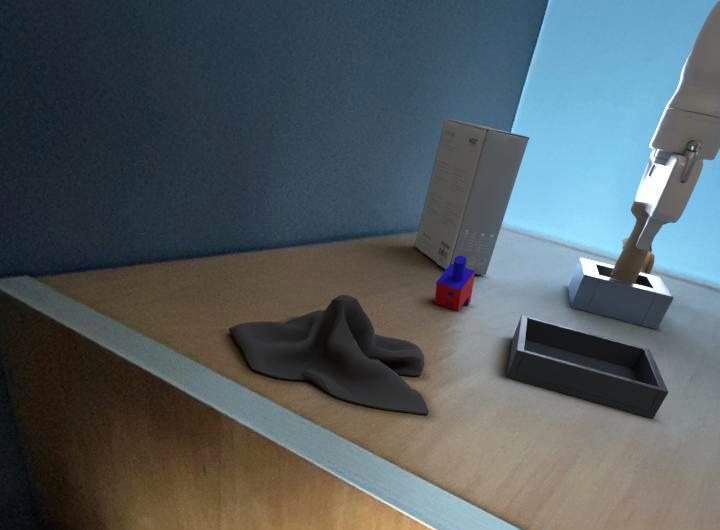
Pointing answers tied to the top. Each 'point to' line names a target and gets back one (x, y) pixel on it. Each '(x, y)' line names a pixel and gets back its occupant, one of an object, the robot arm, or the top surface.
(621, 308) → the block
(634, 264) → the handle
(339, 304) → the cloth
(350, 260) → the top surface
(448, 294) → the toy building block
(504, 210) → the hard drive box
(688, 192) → the robot arm
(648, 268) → the lion figurine
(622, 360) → the basin
